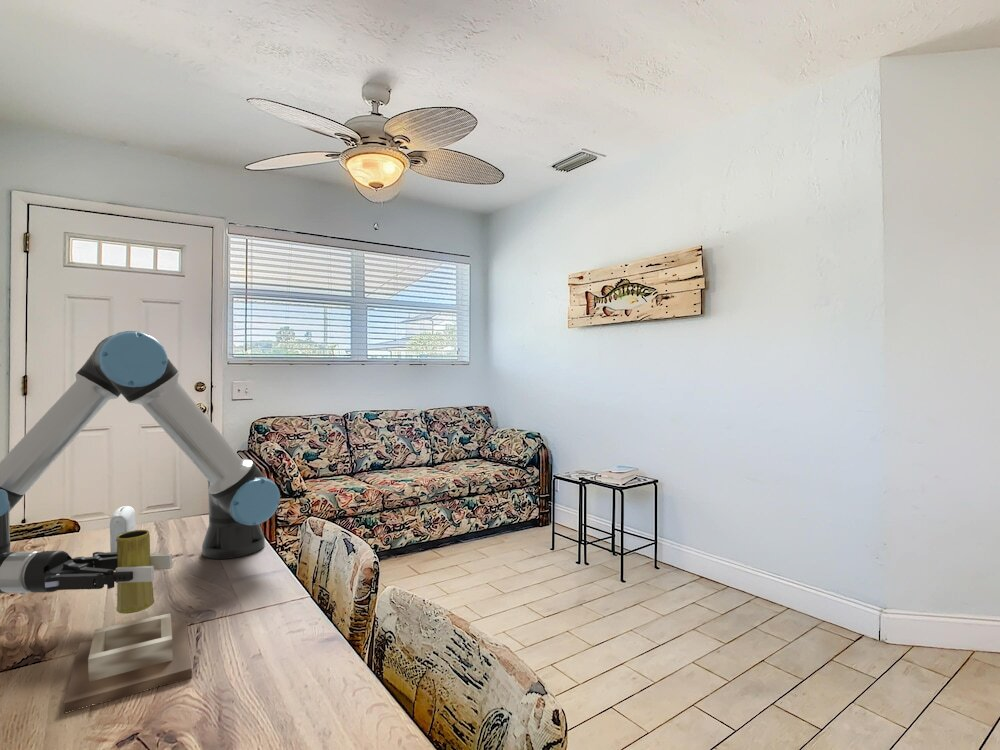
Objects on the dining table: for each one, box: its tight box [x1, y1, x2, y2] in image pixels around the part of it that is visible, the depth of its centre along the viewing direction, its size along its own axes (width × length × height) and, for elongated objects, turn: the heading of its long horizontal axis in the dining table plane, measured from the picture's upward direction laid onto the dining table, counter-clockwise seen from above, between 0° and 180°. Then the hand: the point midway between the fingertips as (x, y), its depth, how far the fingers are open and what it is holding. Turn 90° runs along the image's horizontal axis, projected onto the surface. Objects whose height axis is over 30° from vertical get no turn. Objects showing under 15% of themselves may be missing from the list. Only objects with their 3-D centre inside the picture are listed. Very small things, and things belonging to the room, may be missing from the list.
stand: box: [63, 612, 193, 714], centre depth 90 cm, size 16×20×5 cm
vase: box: [115, 529, 155, 615], centre depth 104 cm, size 6×6×14 cm
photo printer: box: [109, 505, 137, 552], centre depth 142 cm, size 10×4×12 cm, turn 22°
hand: (161, 567), depth 104 cm, fingers closed on vase, 5 cm apart
